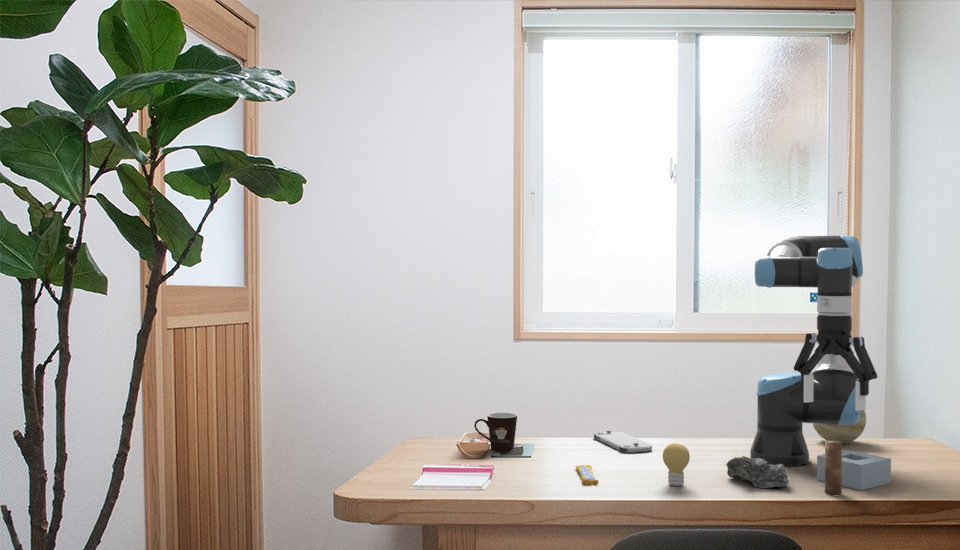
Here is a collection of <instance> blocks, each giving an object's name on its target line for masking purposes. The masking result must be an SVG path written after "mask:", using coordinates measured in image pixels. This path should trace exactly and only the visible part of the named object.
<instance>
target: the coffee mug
mask: <svg viewBox="0 0 960 550" xmlns="http://www.w3.org/2000/svg"><path fill="white" fill-rule="evenodd" d="M486 418H487V420H486V419H484V418H480V419H479V418H478V419H477V420H475V422H474V427H473V428H474V430H475V431H476V432H477V433H478V434H479V435H480V436H482V437H483V438H485V439H486V440H488V441H489V443H491V444H490V450H491V452H493V453H499V454H500V453H511V452H510V451H511V450H512V449H513V447H515V440H516V439H515V438H516V431H517V421H518V414H516V413H513V412H492V413H488V414H487V415H486ZM479 422H484V423H485V424H486V426H487V428H488V434H489V435H488V436H487V435H485V434H483V433H482V432H481V431H480V430H479V429H478V427H477V424H478V423H479Z"/></svg>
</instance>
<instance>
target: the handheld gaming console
mask: <svg viewBox="0 0 960 550" xmlns="http://www.w3.org/2000/svg"><path fill="white" fill-rule="evenodd" d="M593 440H595V441H598V442H601V443H603V444H605V445H607V446H609V447H610V448H611V447H612V448H614V450H618V451H619V453H622V454H637V453H639V454H641V453H649V452H652V449H653V445H652V444H650V443H649V442H646V441H643V440H641V439H639V438H637V437H634V436H632V435H630V434H627V433H626V432H621V431H611V430H607V431H605V432H595V433H593Z"/></svg>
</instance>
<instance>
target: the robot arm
mask: <svg viewBox="0 0 960 550" xmlns="http://www.w3.org/2000/svg"><path fill="white" fill-rule="evenodd" d="M766 255H767V256H758V257H757V258H755V261H754V282H755V283H754V284H755V285H756V286H757V287H759V288H760V287H762V288H763V287H765V288H817V293H816V295H817V297H816V298H817V299H816V301H817V303H816V305H817V306H816V311H817V316H816V331H817V334H816V333H815V332H812V333H806V334H805V338H804V344H803V346H802V348H801V350H800V352H799V355H798V357H797V360H796V362H795V363H794V366H793V370H794V371H795V372H786V373H785V372H782V373H775V374H768V375H765V376H762V377H760V378H759V379H758V382H757V392H756V396H757V413H756V414H757V415H756V417H757V418H756V420H757V422H756V423H757V428H756V433H755V435H754V438H753V441H752V445H751V446H750V451H749V452H750V454H749V455H750V456H749V458H753V459H754V458H761V459H763V460H765V461H766V462H768V463H769V464H770V465H777V464H783V465H784V467H786V466H787V467H790V466H791V467H792V466H793V467H794V466H802V465H807V464H809V463H810V452H809V449H808V446H807V443H806V440H805V436H804V434H803V433H804V432H803V424H804V423H806V424H813V423H816V424H831V425H838V426H841V425H855V424H857V423H858V421H859V417H860V410H866V409H867V408H866V406H867V405H866V400H867V399H866V397H867V396H869V394H870V393H869V391H870V389H869V388H870V381H872V380H876V379H878V374H877V371H876V370H875V366H874V364H873V362H872V360H871V357H870V356H869V353H868V350H867V348H866V344H865V338H864V337H863V336H855V337H854V336H853V337H852V335H853V334H852V333H853V331H852V330H853V328H852V327H853V317H852V313H853V293H852V292H853V291H852V289H853V287H854V286H855V285H857V283H858V278H861V277H863V275H864V268H863V267H864V266H863V256H862V251H861V246H860V242H859V240H858V238H857V237H856V236H853V235H842V234H838V235H798V236H792V237H789V238H786V239H783V240H780V241H778V242H776V243H775V244H773V245H772V246H771V247H770V248H769V249H768V252H767V254H766ZM816 344H817V347H816V349H815V350H814V348H815V346H816ZM852 347H853V348H852ZM853 349H854V350H853ZM813 350H814V352H813ZM854 351H855V352H854ZM812 352H813V354H812ZM811 354H812V355H811ZM855 354H856V355H855ZM816 366H817V368H816Z"/></svg>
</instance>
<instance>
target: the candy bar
mask: <svg viewBox="0 0 960 550" xmlns="http://www.w3.org/2000/svg"><path fill="white" fill-rule="evenodd" d="M592 468H593V467H592V465H590V464H587V465H585V464H583V465H582V464H580V465H575V469H576V471H577V473H578V475H579V477H580V480H581V483H582V485H583V484H585V485H584V486H590V485H591V484H597V485H599V480H598V479H596V478H595V476H594V473H593V471H592Z"/></svg>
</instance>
